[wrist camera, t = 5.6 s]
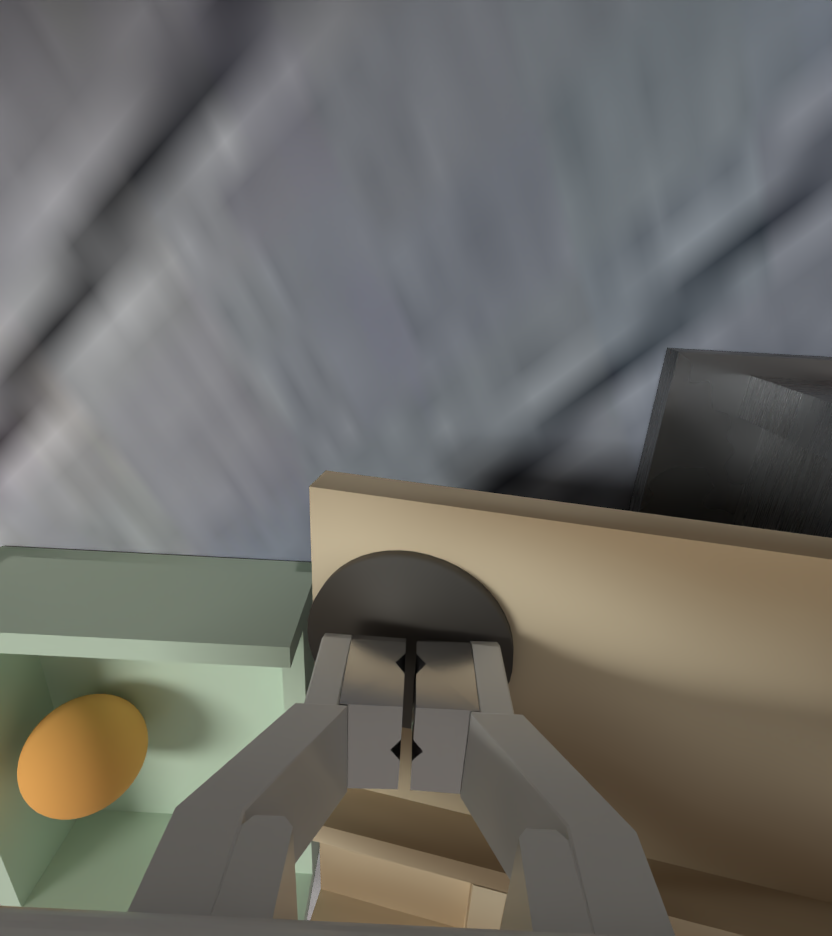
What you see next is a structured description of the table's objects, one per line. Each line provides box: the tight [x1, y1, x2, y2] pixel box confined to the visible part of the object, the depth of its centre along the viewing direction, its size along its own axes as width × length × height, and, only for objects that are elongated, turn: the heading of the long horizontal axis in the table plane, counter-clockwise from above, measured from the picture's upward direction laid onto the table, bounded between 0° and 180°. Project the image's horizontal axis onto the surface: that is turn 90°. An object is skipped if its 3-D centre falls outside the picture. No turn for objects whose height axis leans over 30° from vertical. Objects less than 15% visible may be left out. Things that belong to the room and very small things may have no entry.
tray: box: [0, 546, 320, 920], centre depth 15 cm, size 11×9×4 cm
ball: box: [17, 694, 148, 820], centre depth 15 cm, size 3×3×3 cm
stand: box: [629, 348, 832, 538], centre depth 12 cm, size 17×6×8 cm, turn 177°
